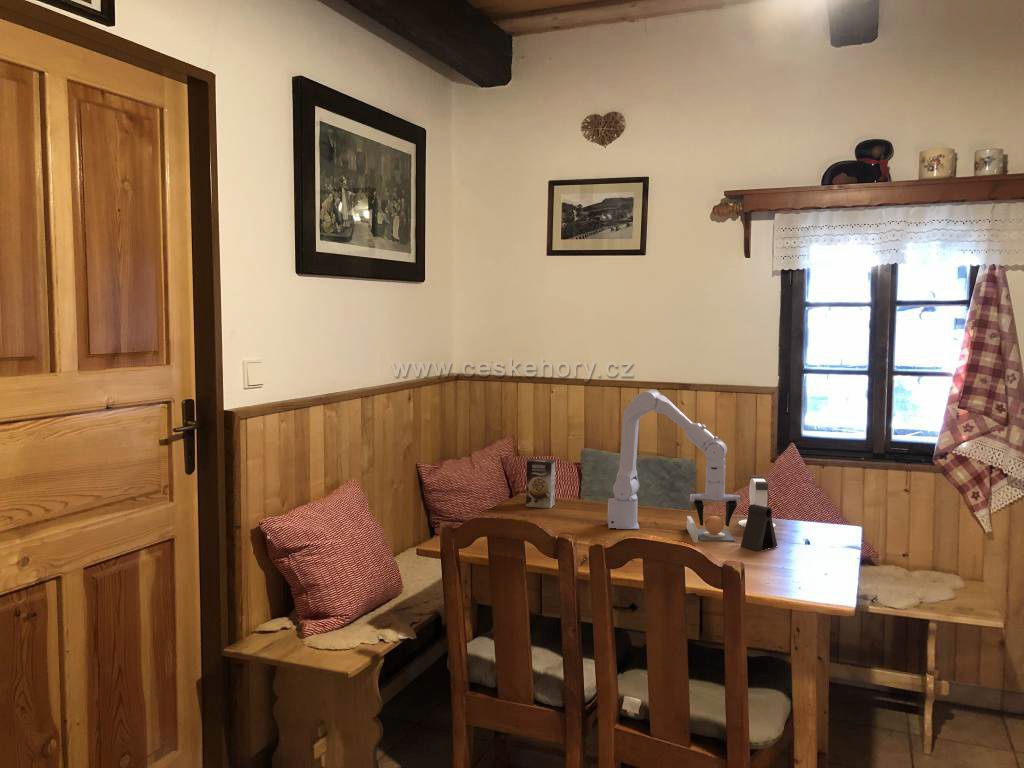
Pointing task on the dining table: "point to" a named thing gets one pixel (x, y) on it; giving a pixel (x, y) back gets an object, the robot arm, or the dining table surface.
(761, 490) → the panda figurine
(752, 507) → the phone stand
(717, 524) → the ball
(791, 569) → the dining table surface
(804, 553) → the dining table surface
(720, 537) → the mat
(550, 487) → the coffee box
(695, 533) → the fence
